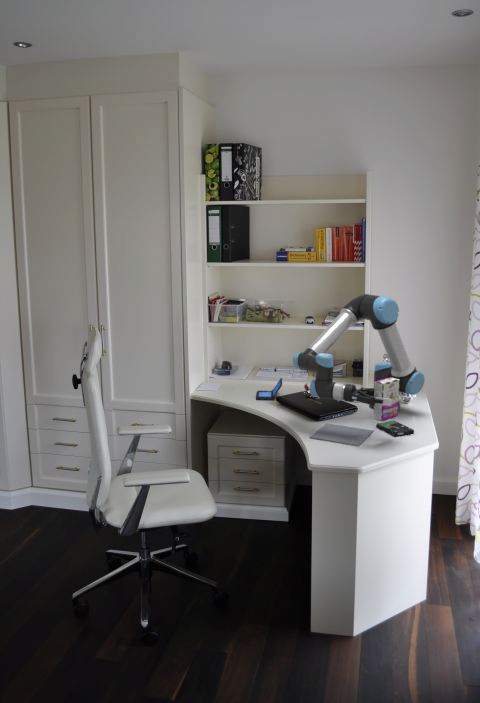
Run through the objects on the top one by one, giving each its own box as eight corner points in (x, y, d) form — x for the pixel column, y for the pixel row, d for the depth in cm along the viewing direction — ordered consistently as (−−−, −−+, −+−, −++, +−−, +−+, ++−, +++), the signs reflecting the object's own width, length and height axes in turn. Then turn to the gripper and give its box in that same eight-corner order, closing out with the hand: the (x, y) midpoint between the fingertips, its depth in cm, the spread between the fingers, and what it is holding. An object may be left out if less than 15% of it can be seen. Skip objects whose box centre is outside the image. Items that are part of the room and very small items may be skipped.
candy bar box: (389, 414, 289) (391, 377, 286) (398, 416, 286) (400, 379, 282) (372, 419, 282) (374, 380, 279) (381, 421, 279) (383, 383, 275)
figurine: (330, 400, 351) (330, 388, 349) (310, 402, 346) (310, 389, 345) (316, 393, 364) (317, 381, 363) (297, 395, 360) (297, 383, 359)
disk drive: (414, 435, 297) (394, 425, 311) (414, 429, 297) (394, 420, 310) (394, 438, 293) (375, 428, 306) (395, 432, 293) (375, 422, 306)
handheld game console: (257, 393, 365) (257, 376, 363) (281, 393, 364) (282, 377, 362) (255, 400, 349) (256, 383, 348) (281, 401, 349) (282, 384, 347)
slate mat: (326, 424, 310) (326, 423, 310) (373, 431, 300) (373, 430, 300) (309, 438, 291) (309, 436, 290) (358, 446, 281) (358, 445, 281)
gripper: (353, 394, 301) (401, 400, 292) (335, 407, 280) (387, 414, 271) (354, 378, 300) (402, 383, 290) (336, 390, 279) (388, 396, 269)
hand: (395, 398), depth 281 cm, fingers closed on candy bar box, 12 cm apart
